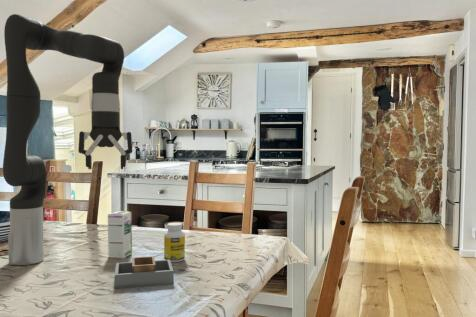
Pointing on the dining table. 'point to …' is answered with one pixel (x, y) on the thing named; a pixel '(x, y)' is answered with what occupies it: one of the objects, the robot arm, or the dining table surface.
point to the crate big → (143, 275)
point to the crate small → (143, 264)
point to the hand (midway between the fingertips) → (106, 169)
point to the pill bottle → (174, 243)
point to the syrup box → (119, 234)
